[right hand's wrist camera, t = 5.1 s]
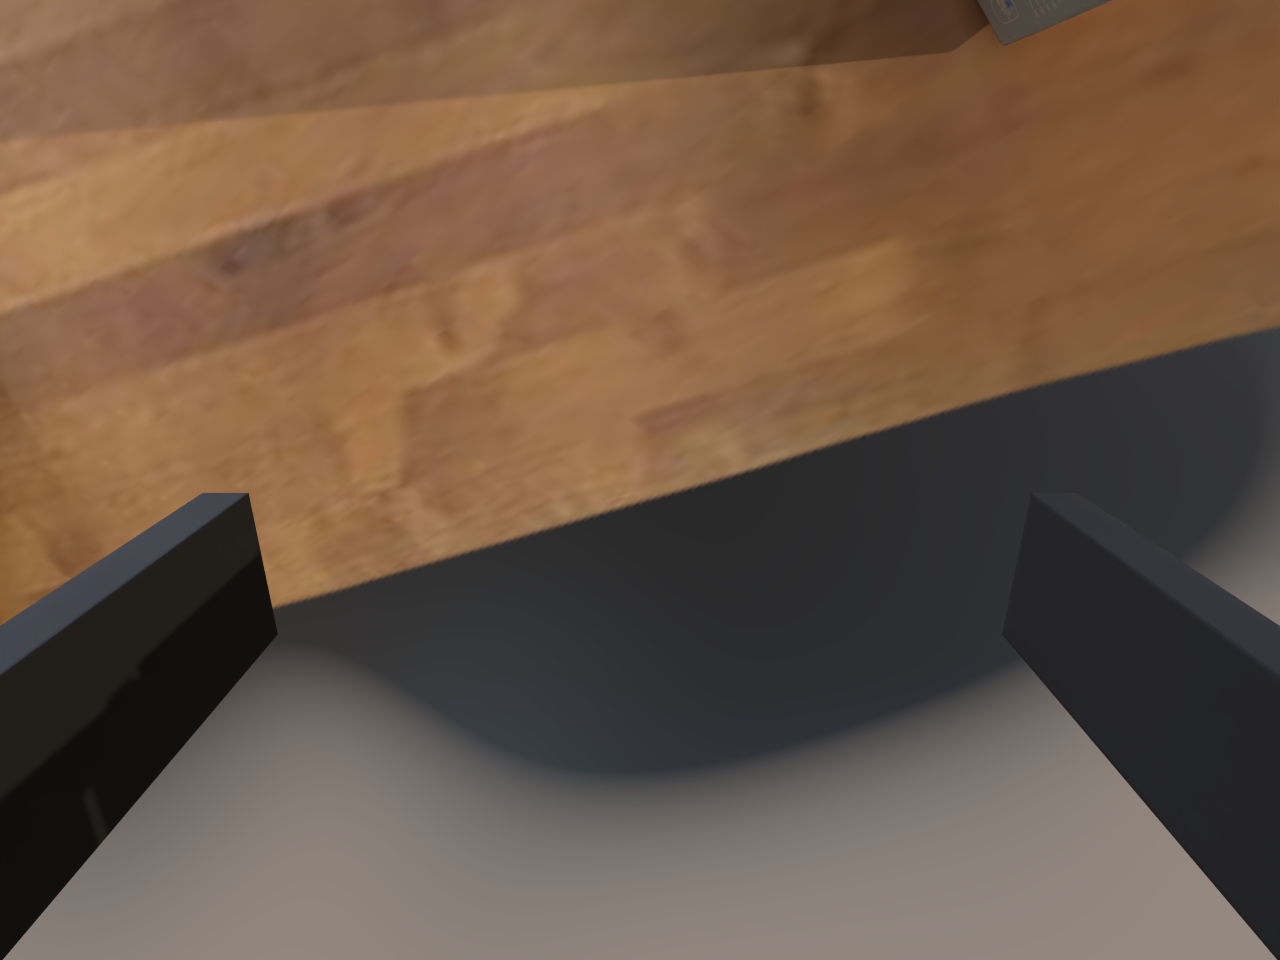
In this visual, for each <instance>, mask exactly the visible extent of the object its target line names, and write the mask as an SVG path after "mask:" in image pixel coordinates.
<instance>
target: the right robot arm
mask: <svg viewBox="0 0 1280 960" xmlns="http://www.w3.org/2000/svg"><path fill="white" fill-rule="evenodd" d="M276 636H277V629H276V624H275V619H274V614H273V609H272V605H271V600H270V595H269V590H268V585H267V580H266V575H265V571H264V566H263V561H262V556H261V551H260V546H259V542H258V537H257V532H256V527H255V522H254V517H253V512H252V508H251V503H250V498H249V493H202V494H200V495H199V496H197V497H196V498H194V499H193V500H191V501H190V502H188V503H187V504H185V505H184V506H182V507H181V508H179V509H178V510H176V511H175V512H173V513H172V514H170V515H169V516H167V517H165V518H164V519H162V520H161V521H159V522H158V523H156V524H155V525H153V526H152V527H150V528H149V529H147V530H146V531H144V532H143V533H141V534H140V535H138V536H137V537H135V538H134V539H132V540H130V541H129V542H127V543H126V544H124V545H123V546H121V547H120V548H118V549H117V550H115V551H114V552H112V553H111V554H109V555H108V556H106V557H105V558H103V559H102V560H100V561H99V562H97V563H95V564H94V565H92V566H91V567H89V568H88V569H86V570H85V571H83V572H82V573H80V574H79V575H77V576H76V577H74V578H73V579H71V580H70V581H68V582H67V583H65V584H64V585H62V586H60V587H59V588H57V589H56V590H54V591H53V592H51V593H50V594H48V595H47V596H45V597H44V598H42V599H41V600H39V601H38V602H36V603H35V604H33V605H32V606H30V607H29V608H27V609H25V610H24V611H22V612H21V613H19V614H18V615H16V616H15V617H13V618H12V619H10V620H9V621H7V622H6V623H4V624H3V625H1V626H0V960H3V959H4V958H5V956H6V955H7V954H8V953H9V952H10V950H11V949H12V948H13V947H14V946H15V945H16V943H17V942H18V941H19V940H20V939H21V937H22V936H23V935H24V934H25V933H26V932H27V930H28V929H29V928H30V927H31V926H32V924H33V923H34V922H35V921H36V920H37V918H38V917H39V916H40V915H41V914H42V913H43V911H44V910H45V909H46V908H47V907H48V905H49V904H50V903H51V902H52V901H53V900H54V898H55V897H56V896H57V895H58V894H59V892H60V891H61V890H62V889H63V888H64V887H65V885H66V884H67V883H68V882H69V881H70V879H71V878H72V877H73V876H74V875H75V873H76V872H77V871H78V870H79V869H80V868H81V866H82V865H83V864H84V863H85V862H86V860H87V859H88V858H89V857H90V856H91V855H92V853H93V852H94V851H95V850H96V849H97V848H98V846H99V845H100V844H101V843H102V842H103V840H104V839H105V838H106V837H107V836H108V834H109V833H110V832H111V831H112V830H113V829H114V827H115V826H116V825H117V824H118V823H119V821H120V820H121V819H122V818H123V817H124V816H125V814H126V813H127V812H128V811H129V810H130V808H131V807H132V806H133V805H134V804H135V803H136V801H137V800H138V799H139V798H140V797H141V795H142V794H143V793H144V792H145V791H146V790H147V788H148V787H149V786H150V785H151V784H152V782H153V781H154V780H155V779H156V778H157V777H158V775H159V774H160V773H161V772H162V771H163V769H164V768H165V767H166V766H167V765H168V764H169V762H170V761H171V760H172V759H173V758H174V756H175V755H176V754H177V753H178V752H179V750H180V749H181V748H182V747H183V746H184V745H185V743H186V742H187V741H188V740H189V739H190V737H191V736H192V735H193V734H194V733H195V732H196V730H197V729H198V728H199V727H200V726H201V724H202V723H203V722H204V721H205V720H206V719H207V717H208V716H209V715H210V714H211V713H212V711H213V710H214V709H215V708H216V707H217V705H218V704H219V703H220V702H221V701H222V700H223V698H224V697H225V696H226V695H227V694H228V693H229V691H230V690H231V689H232V688H233V687H234V685H235V684H236V683H237V682H238V681H239V680H240V678H241V677H242V676H243V675H244V674H245V672H246V671H247V670H248V669H249V668H250V666H251V665H252V664H253V663H254V662H255V661H256V659H257V658H258V657H259V656H260V655H261V653H262V652H263V651H264V650H265V649H266V647H267V646H268V645H269V644H270V643H271V642H272V640H273V639H274V638H275V637H276ZM1003 636H1004V637H1005V638H1006V639H1007V640H1008V642H1009V643H1010V644H1011V645H1012V646H1013V648H1014V649H1015V650H1016V651H1017V652H1018V653H1019V655H1020V656H1021V657H1022V658H1023V659H1024V661H1025V662H1026V663H1027V664H1028V665H1029V666H1030V668H1031V669H1032V670H1033V671H1034V672H1035V674H1036V675H1037V676H1038V677H1039V678H1040V679H1041V681H1042V682H1043V683H1044V684H1045V685H1046V687H1047V688H1048V689H1049V690H1050V691H1051V693H1052V694H1053V695H1054V696H1055V697H1056V698H1057V700H1058V701H1059V702H1060V703H1061V704H1062V706H1063V707H1064V708H1065V709H1066V710H1067V711H1068V713H1069V714H1070V715H1071V716H1072V717H1073V718H1074V720H1075V721H1076V722H1077V723H1078V724H1079V726H1080V727H1081V728H1082V729H1083V730H1084V732H1085V733H1086V734H1087V735H1088V736H1089V737H1090V739H1091V740H1092V741H1093V742H1094V743H1095V745H1096V746H1097V747H1098V748H1099V749H1100V750H1101V752H1102V753H1103V754H1104V755H1105V756H1106V758H1107V759H1108V760H1109V761H1110V762H1111V764H1112V765H1113V766H1114V767H1115V768H1116V769H1117V770H1118V772H1119V773H1120V774H1121V775H1122V776H1123V778H1124V779H1125V780H1126V781H1127V782H1128V784H1129V785H1130V786H1131V787H1132V788H1133V790H1134V791H1135V792H1136V793H1137V794H1138V795H1139V797H1140V798H1141V799H1142V800H1143V801H1144V803H1145V804H1146V805H1147V806H1148V807H1149V808H1150V810H1151V811H1152V812H1153V813H1154V814H1155V816H1156V817H1157V818H1158V819H1159V820H1160V821H1161V823H1162V824H1163V825H1164V826H1165V827H1166V829H1167V830H1168V831H1169V832H1170V833H1171V834H1172V836H1173V837H1174V838H1175V839H1176V840H1177V842H1178V843H1179V844H1180V845H1181V846H1182V847H1183V849H1184V850H1185V851H1186V852H1187V853H1188V855H1189V856H1190V857H1191V858H1192V859H1193V860H1194V862H1195V863H1196V864H1197V865H1198V866H1199V868H1200V869H1201V870H1202V871H1203V872H1204V874H1205V875H1206V876H1207V877H1208V878H1209V879H1210V881H1211V882H1212V883H1213V884H1214V885H1215V887H1216V888H1217V889H1218V890H1219V891H1220V892H1221V894H1222V895H1223V896H1224V897H1225V898H1226V900H1227V901H1228V902H1229V903H1230V904H1231V905H1232V907H1233V908H1234V909H1235V910H1236V911H1237V913H1238V914H1239V915H1240V916H1241V917H1242V918H1243V920H1244V921H1245V922H1246V923H1247V924H1248V926H1249V927H1250V928H1251V929H1252V930H1253V932H1254V933H1255V934H1256V935H1257V936H1258V937H1259V939H1260V940H1261V941H1262V942H1263V943H1264V945H1265V946H1266V947H1267V948H1268V949H1269V950H1270V952H1271V953H1272V954H1273V955H1274V956H1275V958H1276V959H1277V960H1280V626H1279V625H1277V624H1276V623H1274V622H1273V621H1271V620H1270V619H1268V618H1267V617H1265V616H1264V615H1262V614H1261V613H1259V612H1258V611H1256V610H1255V609H1253V608H1251V607H1250V606H1248V605H1247V604H1245V603H1244V602H1242V601H1241V600H1239V599H1238V598H1236V597H1235V596H1233V595H1232V594H1230V593H1229V592H1227V591H1226V590H1224V589H1223V588H1221V587H1220V586H1218V585H1216V584H1215V583H1213V582H1212V581H1210V580H1209V579H1207V578H1206V577H1204V576H1203V575H1201V574H1200V573H1198V572H1197V571H1195V570H1194V569H1192V568H1191V567H1189V566H1188V565H1186V564H1184V563H1183V562H1181V561H1180V560H1178V559H1177V558H1175V557H1174V556H1172V555H1171V554H1169V553H1168V552H1166V551H1165V550H1163V549H1162V548H1160V547H1159V546H1157V545H1156V544H1154V543H1153V542H1151V541H1150V540H1148V539H1146V538H1145V537H1143V536H1142V535H1140V534H1139V533H1137V532H1136V531H1134V530H1133V529H1131V528H1130V527H1128V526H1127V525H1125V524H1124V523H1122V522H1121V521H1119V520H1118V519H1116V518H1114V517H1113V516H1111V515H1110V514H1108V513H1107V512H1105V511H1104V510H1102V509H1101V508H1099V507H1098V506H1096V505H1095V504H1093V503H1092V502H1090V501H1089V500H1087V499H1086V498H1084V497H1083V496H1081V495H1080V494H1078V493H1031V498H1030V503H1029V508H1028V512H1027V517H1026V522H1025V527H1024V532H1023V537H1022V542H1021V546H1020V551H1019V556H1018V561H1017V566H1016V571H1015V575H1014V580H1013V585H1012V590H1011V595H1010V600H1009V605H1008V609H1007V614H1006V619H1005V624H1004V629H1003Z"/></svg>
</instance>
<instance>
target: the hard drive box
mask: <svg viewBox="0 0 1280 960" xmlns="http://www.w3.org/2000/svg"><path fill="white" fill-rule="evenodd" d="M1109 1H1111V0H978V2H979V4H980V6H981V8H982V10H983V11H984V13H985V15H986V17H987V19H988V21H989V22H990V24H991V26H992V28H993V30H994V31H995V33H996V35H997V37H998V38H999V40H1000V42H1001V43H1002V45H1008V44H1010V43H1012V42H1015V41H1017V40H1020V39H1022V38H1024V37H1027V36H1029V35H1032V34H1034V33H1037V32H1039V31H1041V30H1044V29H1047V28H1049V27H1051V26H1054V25H1056V24H1058V23H1060V22H1063V21H1065V20H1067V19H1070V18H1072V17H1074V16H1077V15H1079V14H1081V13H1084V12H1086V11H1088V10H1091V9H1093V8H1095V7H1098V6H1100V5H1102V4H1104V3H1107V2H1109Z"/></svg>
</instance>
